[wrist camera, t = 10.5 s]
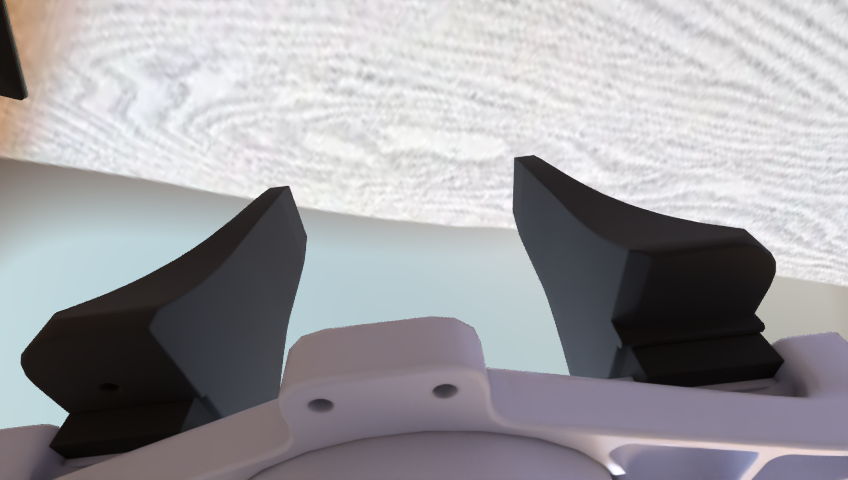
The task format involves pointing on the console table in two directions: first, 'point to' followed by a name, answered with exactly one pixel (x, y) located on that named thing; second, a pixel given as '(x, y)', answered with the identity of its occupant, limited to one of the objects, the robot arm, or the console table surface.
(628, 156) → the console table surface
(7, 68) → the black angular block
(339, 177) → the console table surface
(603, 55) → the console table surface
